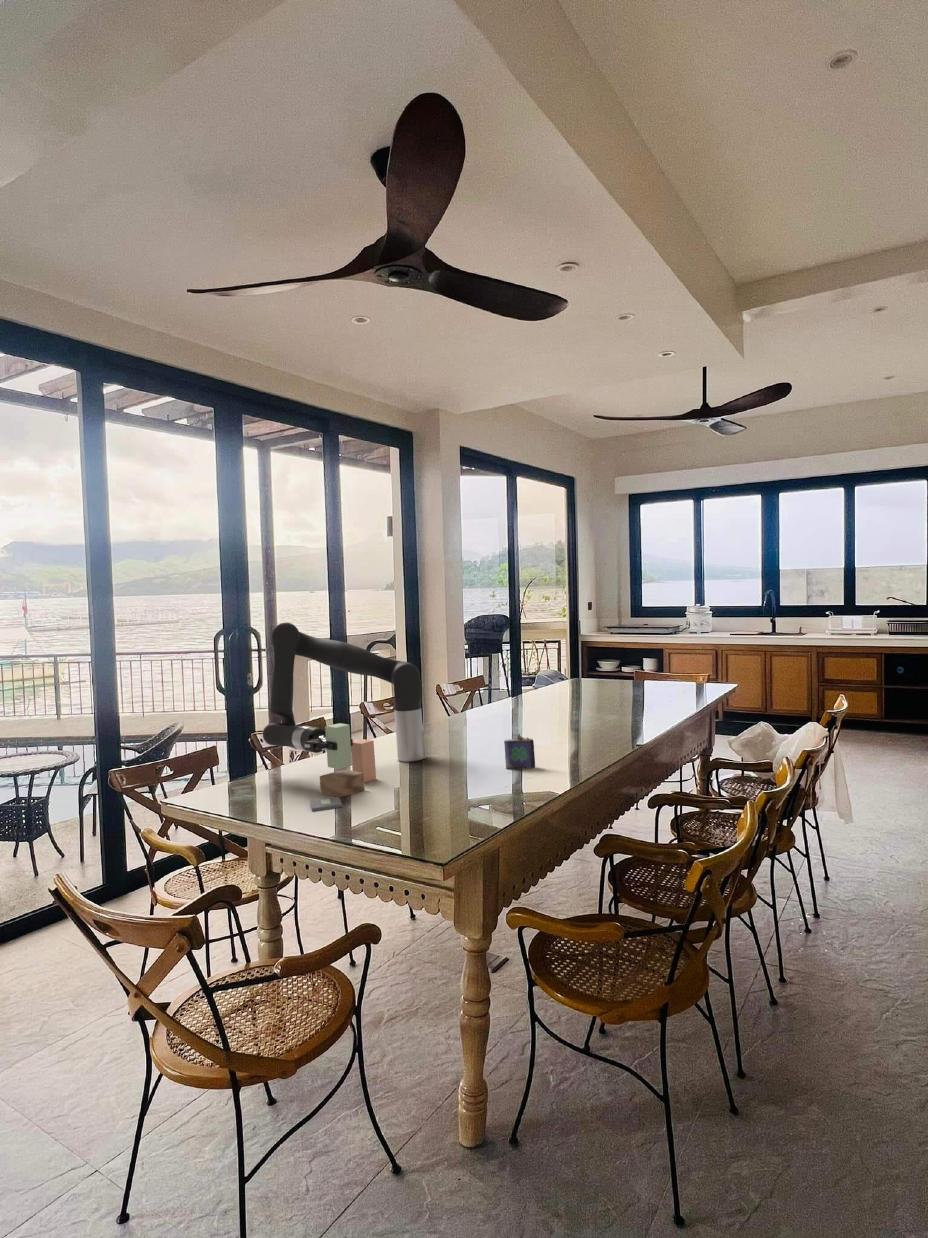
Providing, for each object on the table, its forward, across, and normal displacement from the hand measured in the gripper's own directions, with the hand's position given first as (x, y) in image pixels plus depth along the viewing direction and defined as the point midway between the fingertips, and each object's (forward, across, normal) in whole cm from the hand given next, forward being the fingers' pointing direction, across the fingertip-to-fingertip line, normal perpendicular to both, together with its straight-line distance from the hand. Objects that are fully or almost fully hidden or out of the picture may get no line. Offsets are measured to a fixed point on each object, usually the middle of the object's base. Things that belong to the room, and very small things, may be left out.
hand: (344, 744), depth 207 cm
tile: (+5, -11, +14) cm, 19 cm away
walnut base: (-2, 0, +14) cm, 14 cm away
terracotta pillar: (-7, +12, +14) cm, 20 cm away
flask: (+28, +46, +14) cm, 56 cm away
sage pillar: (-3, 0, +7) cm, 7 cm away
